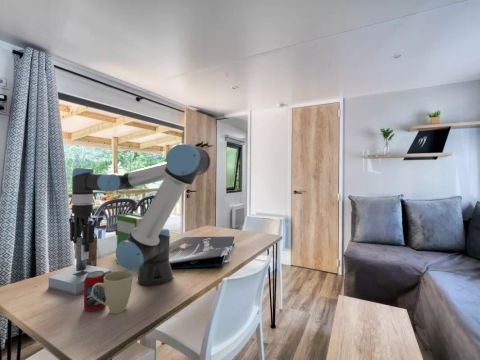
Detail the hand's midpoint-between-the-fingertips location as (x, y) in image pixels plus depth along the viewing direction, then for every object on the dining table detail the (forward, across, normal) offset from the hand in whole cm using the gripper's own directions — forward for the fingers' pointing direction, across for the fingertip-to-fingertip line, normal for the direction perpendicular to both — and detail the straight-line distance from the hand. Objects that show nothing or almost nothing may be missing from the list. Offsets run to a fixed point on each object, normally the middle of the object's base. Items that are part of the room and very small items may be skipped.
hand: (81, 258), depth 104 cm
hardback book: (+11, +6, -34) cm, 36 cm away
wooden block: (+11, +13, -14) cm, 22 cm away
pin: (+5, 0, 0) cm, 5 cm away
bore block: (+11, 0, 0) cm, 11 cm away
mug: (+11, -30, +10) cm, 34 cm away
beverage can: (+11, -22, +11) cm, 27 cm away
